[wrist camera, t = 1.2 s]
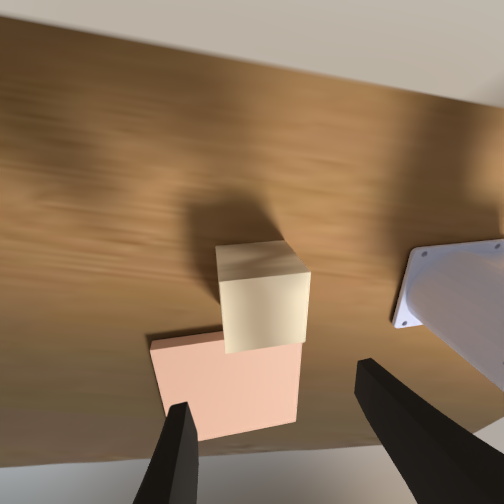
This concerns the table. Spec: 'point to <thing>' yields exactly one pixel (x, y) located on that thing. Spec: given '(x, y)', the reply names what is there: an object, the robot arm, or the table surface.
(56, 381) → the table surface
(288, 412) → the salmon pink board
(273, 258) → the birch cube
